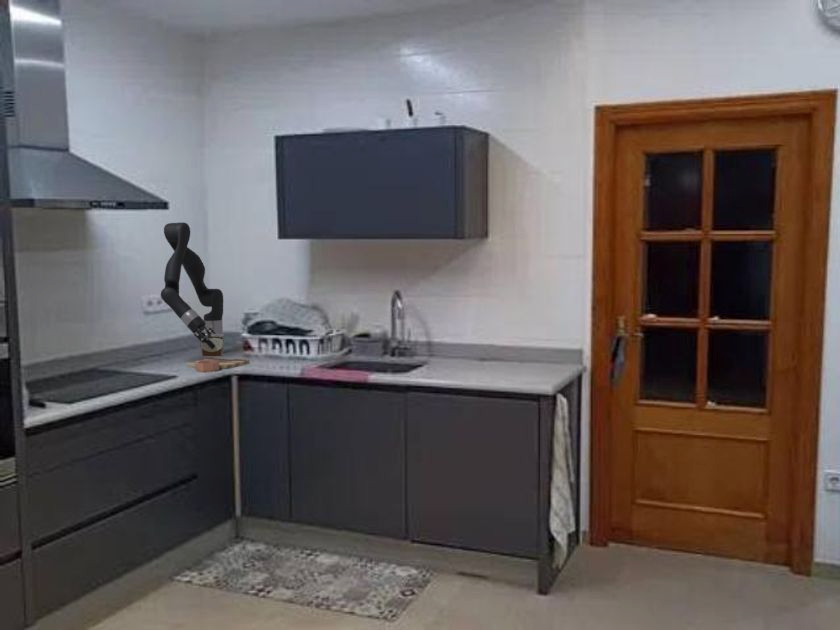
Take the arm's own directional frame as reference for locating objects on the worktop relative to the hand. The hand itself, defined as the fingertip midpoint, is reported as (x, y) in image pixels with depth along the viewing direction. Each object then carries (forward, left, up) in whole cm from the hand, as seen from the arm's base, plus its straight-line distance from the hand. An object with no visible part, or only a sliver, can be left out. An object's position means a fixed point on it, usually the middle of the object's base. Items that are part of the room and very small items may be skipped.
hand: (217, 346), depth 381 cm
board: (0, 0, -9) cm, 9 cm away
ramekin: (+15, +5, -9) cm, 18 cm away
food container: (0, -2, -5) cm, 5 cm away
